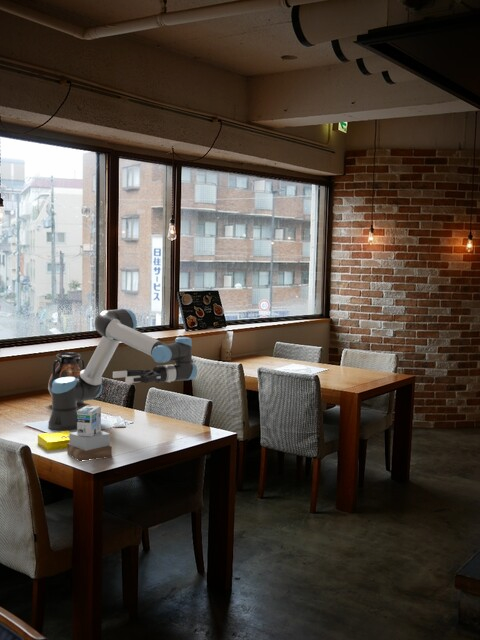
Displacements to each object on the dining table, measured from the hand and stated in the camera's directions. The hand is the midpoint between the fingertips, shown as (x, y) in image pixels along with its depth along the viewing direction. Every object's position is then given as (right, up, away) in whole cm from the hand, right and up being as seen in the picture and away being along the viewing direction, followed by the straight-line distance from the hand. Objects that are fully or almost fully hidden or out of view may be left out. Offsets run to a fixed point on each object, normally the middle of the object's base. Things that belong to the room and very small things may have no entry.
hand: (119, 377), depth 309 cm
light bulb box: (-12, -23, -5) cm, 27 cm away
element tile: (-29, -31, +10) cm, 43 cm away
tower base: (-12, -33, -4) cm, 35 cm away
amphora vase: (-43, -22, +89) cm, 101 cm away
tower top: (-12, -28, -5) cm, 31 cm away
